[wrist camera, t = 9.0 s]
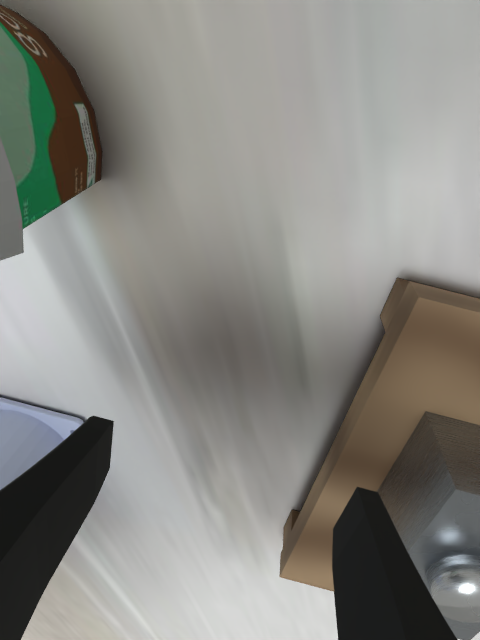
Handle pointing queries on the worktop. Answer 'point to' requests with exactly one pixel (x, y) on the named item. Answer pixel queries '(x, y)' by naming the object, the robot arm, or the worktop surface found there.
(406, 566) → the robot arm
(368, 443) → the stand
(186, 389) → the worktop surface
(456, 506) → the block
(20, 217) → the food container
